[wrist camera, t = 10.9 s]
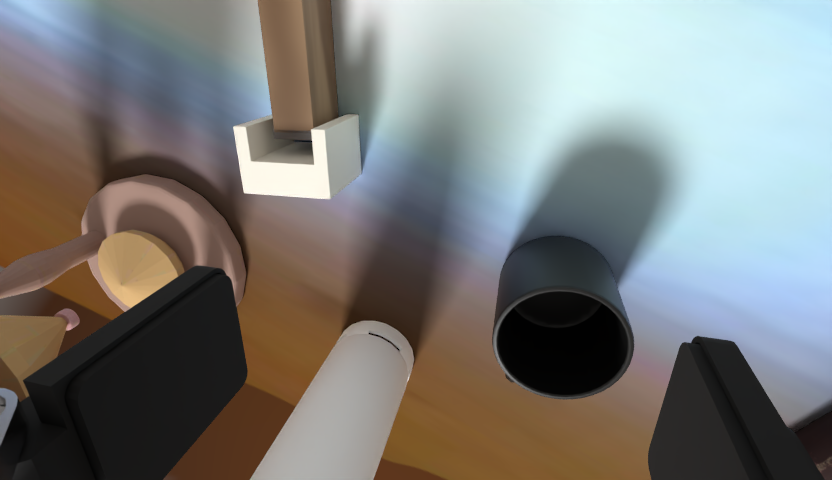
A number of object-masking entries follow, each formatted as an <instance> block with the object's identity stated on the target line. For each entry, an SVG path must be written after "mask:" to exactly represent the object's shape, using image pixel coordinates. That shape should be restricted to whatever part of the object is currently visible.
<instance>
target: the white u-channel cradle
mask: <svg viewBox="0 0 832 480" xmlns="http://www.w3.org/2000/svg"><path fill="white" fill-rule="evenodd" d="M233 128H234V135H235V141H236V147H237V153H238V159H239V166H240V172H241V178H242V184H243V190H244V193H249V194H263V195H277V196H291V197H305V198H319V199H331V198H333V197H334V196H335V195H336V194H337V193H339V192H340V191H341V190H342V189H344V188H345V187H346V186H347V185H348V184H350V183H351V182H352V181H353V180H355V179H356V178H357V177H358V176H359V175H361V174H362V172H361V153H360V134H359V115H358V114H346V115H344V116H341V117H339V118H337V119H334V120H332V121H330V122H327V123H325V124H323V125H320V126H318V127H316V128H313V129H311V135H312V143H308V142H294V140H289V139H274V134H273V129H274V125H273V117H272V115H269V116H266V117H262V118H259V119H256V120H252V121H249V122H246V123H243V124H239V125H236V126H233Z"/></svg>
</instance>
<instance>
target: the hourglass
mask: <svg viewBox="0 0 832 480" xmlns="http://www.w3.org/2000/svg"><path fill="white" fill-rule="evenodd" d="M81 223H82V236H80V237H78V238H75V239H73V240H71V241H68V242H66V243H64V244H62V245H59V246H57V247H55V248H53V249H48V250H44V251H41V252H37V253H34V254H30V255H27V256H25V257H23V258H20V259H18V260H16V261H14V262H13V263H12V264H10V265H9V266H8V267H6V268H5V269H4V270H3V271H2V272H0V299H1V298H5V297H9V296H13V295H17V294H22V293H26V292H30V291H34V290H37V289H39V288H41V287H43V286H45V285H47V284H49V283H50V282H52V281H53V280H54V279H56V278H57V277H59V276H60V275H61V274H63V273H64V272H66V271H67V270H68V269H70V268H72V267H74V266H76V265H78V264H80V263H82V262H84V261H86V260H87V261H88V263H89V266H90V269H91V271H92V273H93V275H94V276H95V278H96V279H97V281H98V282H99V284H100V285H101V287H102V288H103V290H104V291H105V292H106V294H107V295H108V297H109V298H110V299H111V300H113V301H114V302H115V303H116V304H117V305H118V306H119V307H120V308H121V309H122V310H123V311H124V312H126V311H127V310H129V309H130V308H132V307H133V306H135V305H136V304H138V303H139V302H141V301H142V300H144V299H145V298H147V297H148V296H150V295H151V294H153V293H154V292H156V291H157V290H159V289H160V288H162V287H163V286H165V285H166V284H168V283H169V282H171V281H172V280H174V279H175V278H177V277H178V276H180V275H181V274H183V273H184V272H186V271H187V270H189V269H190V268H192V267H194V266H196V265H201V266H208V267H215V268H221V269H223V270H224V271H225V273H226V275H227V276H229V277H230V279H231V281H232V285H233V290H234V296H235V302H236V307H237V306H238V304H239V303H240V301H241V300H242V298H243V293H244V287H245V280H246V269H245V265H244V260H243V256H242V251H241V247H240V245H239V243H238V241H237V239H236V238H235V236H234V234H233V232H232V230H231V229H230V227H229V225H228V223H227V222H226V220H225V218H224V217H223V216H222V215H221V214H220V213H219V212H218V211H217V210H216V209H215V208H214V207H213V206H212V205H211V204H210V203H209V202H208V201H207V200H206V199H205V198H204V197H203V196H202V195H200V194H198V193H196V192H195V191H193V190H191V189H189V188H188V187H186V186H184V185H182V184H181V183H179V182H177V181H175V180H173V179H168V178H163V177H158V176H153V175H148V174H143V175H138V176H134V177H129V178H124V179H119V180H116V181H113V182H110V183H108V184H107V185H106V186H105V187H103V188H102V189H101V190H100V191H99V192H97V193H96V194H95V195H94V196H93V197H91V198H90V200H89V203H88V205H87V208H86V210H85V213H84V216H83V218H82V222H81ZM78 324H79V318H78V316H77V314H76V313H75V312H74V311H72V310H70V309H63V310H62V311H60V312H58V313H57V314H55V316H54V317H40V316H9V315H0V388H5V389H8V390H11V391H14V393H15V394H16V395H17V397H18V399H19V401H20V402H21V401H23V400H24V399H25V398H27V397H28V396H29V394H28V391H27V389H26V387H25V384H24V382H23V380H24V379H25V378H27V377H28V376H30V375H31V374H33V373H34V372H36V371H37V370H39V369H40V368H42V367H43V366H45V365H46V364H48V363H49V362H51V361H52V360H54V359H55V358H57V355H58V352H59V349H60V346H61V343H62V340H63V337H64V333H65V331H66V330H70V329H72V328H74V327H75V326H77V325H78Z"/></svg>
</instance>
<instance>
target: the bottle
mask: <svg viewBox="0 0 832 480" xmlns="http://www.w3.org/2000/svg"><path fill="white" fill-rule="evenodd" d="M369 333H372V334H376V335H380V336H382V337H384V338H386V339H387V340H389V341H391V342H392V343H393V344H394V345H395V346H396V347H397V348H398V349H399V350H400V352H399V351H398V350H397V349H396V348H395V347H394V346H393V345H392V344H391V343H389V342H387V341H386V340H384V339H382V338H380V337H377V336H373V335H370V334H369ZM413 363H414V356H413V350H412V348H411V346H410V344H409V342H408V341H407V339H406V338H405V337H404V336H403V335H402V334H401V333H400V332H399V331H398V330H397V329H395V328H393V327H391V326H389V325H388V324H385V323H381V322H378V321H360V322H357V323H354V324H352V325H350V326H349V327H348V328H347V329H345V330H344V332H343V333H342V335H341V336H340V338H339V340H338V341H337V343H336V345H335V346H334V347H333V349H332V351H331V352H330V354H329V355H328V357H327V359H326V360H325V362H324V363H323V365H322V366H321V368H320V370H319V371H318V373H317V374H316V376H315V377H314V379H313V381H312V382H311V384H310V385H309V387H308V389H307V390H306V392H305V393H304V395H303V396H302V398H301V400H300V401H299V403H298V404H297V406H296V408H295V409H294V411H293V412H292V414H291V416H290V417H289V419H288V420H287V422H286V424H285V425H284V427H283V428H282V430H281V431H280V433H279V434H278V436H277V438H276V439H275V441H274V442H273V444H272V446H271V447H270V449H269V450H268V452H267V454H266V455H265V457H264V458H263V460H262V462H261V463H260V465H259V466H258V468H257V469H256V471H255V472H254V474H253V476H252V477H251V479H250V480H373V478H374V476H375V473H376V470H377V467H378V464H379V462H380V459H381V456H382V453H383V450H384V448H385V445H386V442H387V439H388V436H389V434H390V431H391V428H392V425H393V422H394V419H395V417H396V414H397V411H398V408H399V405H400V402H401V400H402V397H403V394H404V391H405V388H406V385H407V381H408V380H409V377H410V374H411V371H412V368H413Z"/></svg>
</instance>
